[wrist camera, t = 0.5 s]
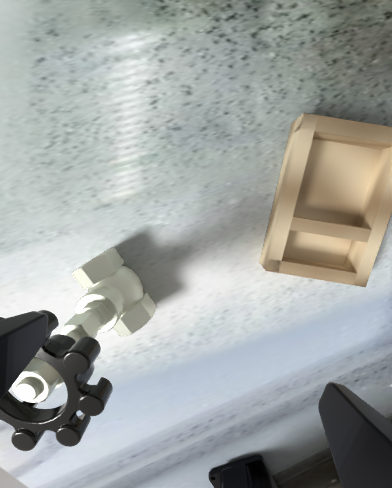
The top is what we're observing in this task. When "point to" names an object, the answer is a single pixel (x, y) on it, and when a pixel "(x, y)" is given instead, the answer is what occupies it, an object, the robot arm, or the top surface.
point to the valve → (76, 354)
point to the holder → (330, 200)
